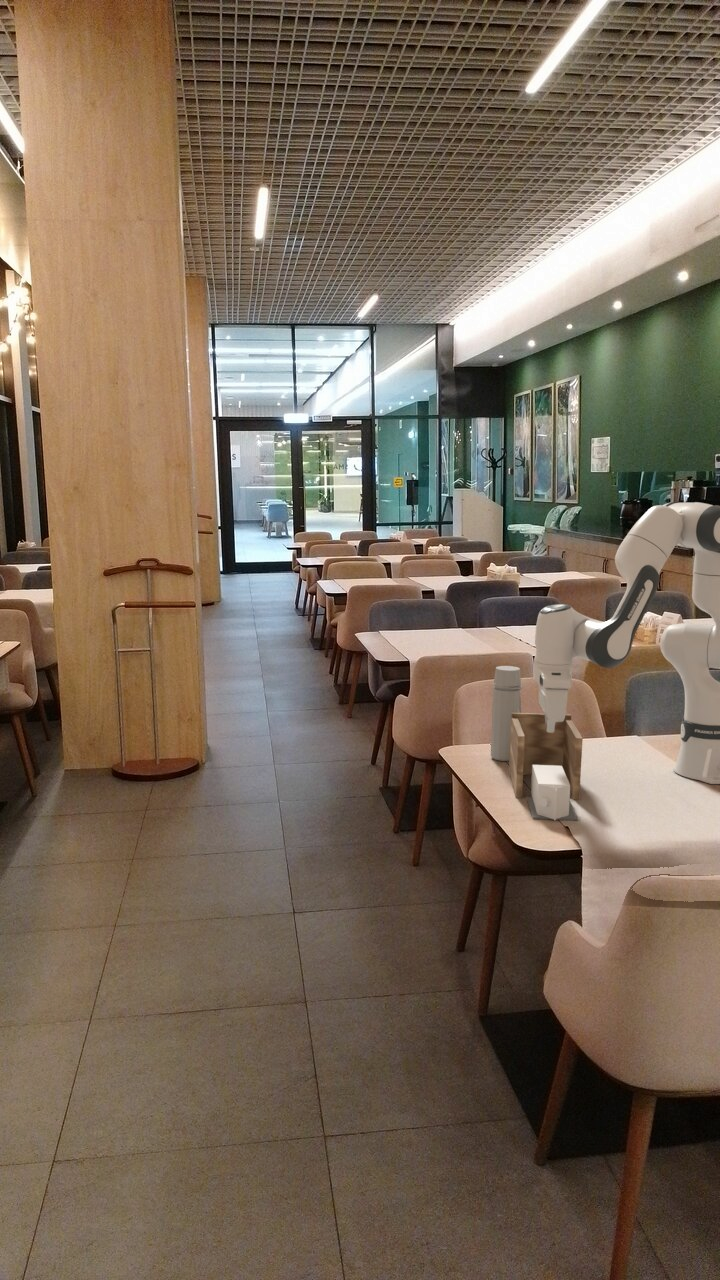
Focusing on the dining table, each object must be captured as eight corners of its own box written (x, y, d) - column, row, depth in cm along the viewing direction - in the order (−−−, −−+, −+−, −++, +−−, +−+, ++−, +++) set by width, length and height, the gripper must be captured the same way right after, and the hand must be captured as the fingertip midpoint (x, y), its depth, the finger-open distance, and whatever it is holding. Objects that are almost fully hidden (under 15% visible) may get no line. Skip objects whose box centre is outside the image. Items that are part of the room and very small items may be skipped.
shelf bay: (567, 774, 246) (570, 714, 243) (579, 799, 227) (582, 734, 224) (508, 772, 247) (511, 712, 244) (515, 797, 228) (518, 732, 225)
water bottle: (501, 763, 254) (504, 671, 250) (484, 756, 261) (487, 666, 257) (529, 759, 258) (533, 669, 254) (511, 752, 265) (515, 663, 261)
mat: (568, 799, 227) (569, 798, 227) (578, 820, 213) (578, 818, 213) (526, 798, 227) (526, 796, 227) (532, 818, 213) (532, 817, 213)
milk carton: (562, 765, 228) (572, 790, 210) (560, 793, 229) (571, 821, 211) (532, 764, 229) (540, 789, 210) (530, 792, 230) (538, 820, 211)
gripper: (534, 664, 234) (531, 719, 237) (544, 682, 214) (541, 742, 216) (560, 665, 234) (557, 720, 236) (572, 683, 214) (569, 743, 216)
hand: (549, 731), depth 226 cm, fingers closed
